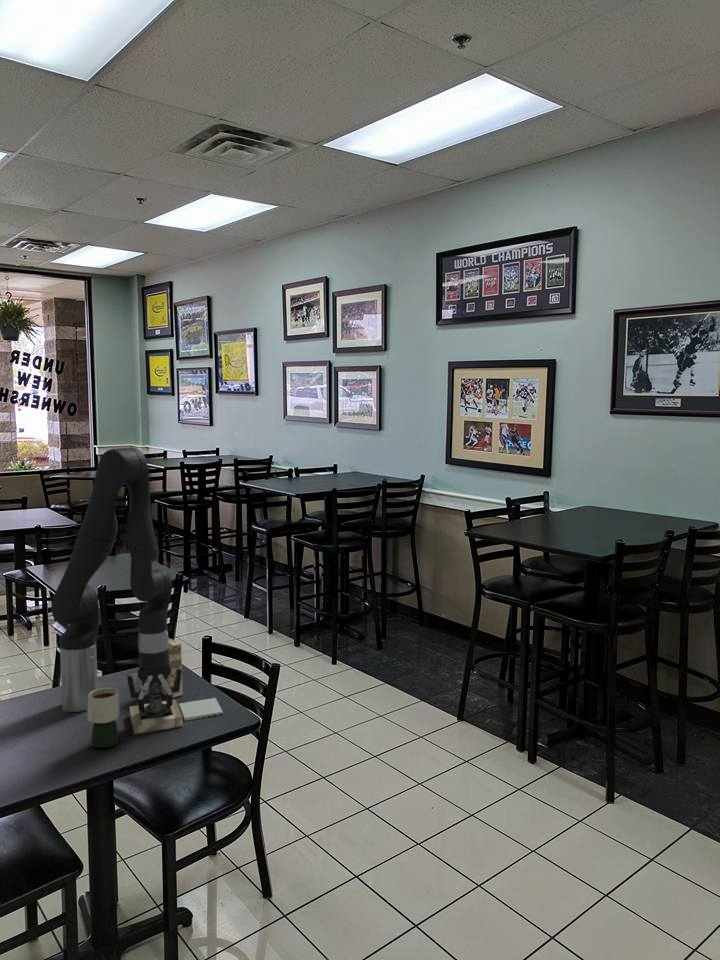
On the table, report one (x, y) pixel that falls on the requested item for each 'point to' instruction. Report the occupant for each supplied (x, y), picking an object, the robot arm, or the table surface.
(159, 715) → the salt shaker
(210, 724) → the table surface
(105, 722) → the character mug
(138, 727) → the beige square frame
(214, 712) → the coaster
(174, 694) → the candy box
